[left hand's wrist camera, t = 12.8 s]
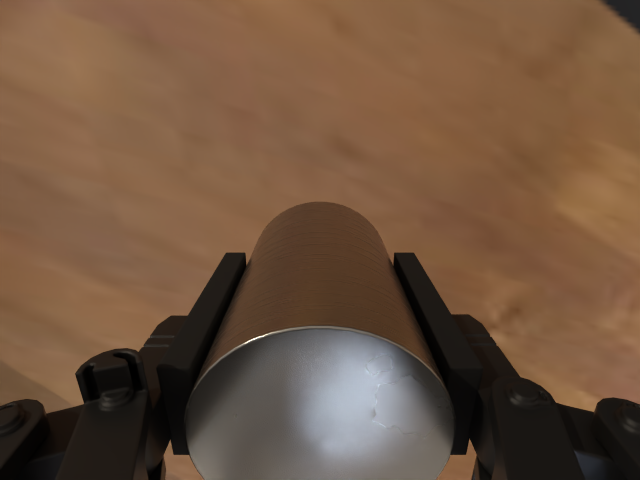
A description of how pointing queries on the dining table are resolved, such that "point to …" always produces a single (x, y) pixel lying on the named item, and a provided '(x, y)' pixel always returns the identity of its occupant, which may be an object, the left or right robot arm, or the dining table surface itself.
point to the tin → (319, 364)
